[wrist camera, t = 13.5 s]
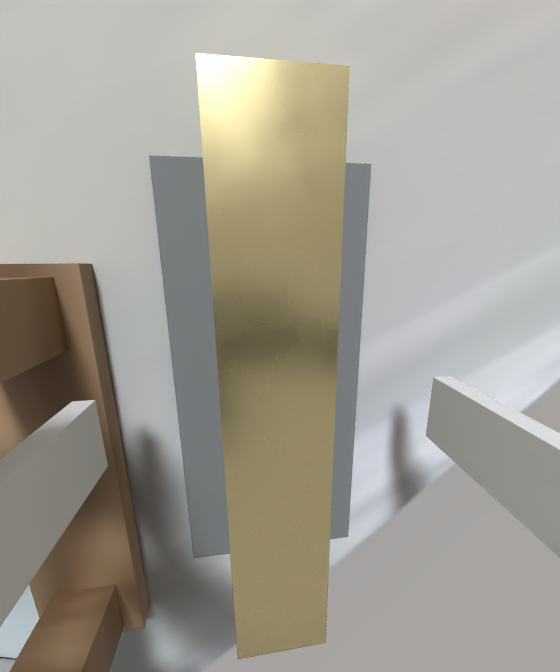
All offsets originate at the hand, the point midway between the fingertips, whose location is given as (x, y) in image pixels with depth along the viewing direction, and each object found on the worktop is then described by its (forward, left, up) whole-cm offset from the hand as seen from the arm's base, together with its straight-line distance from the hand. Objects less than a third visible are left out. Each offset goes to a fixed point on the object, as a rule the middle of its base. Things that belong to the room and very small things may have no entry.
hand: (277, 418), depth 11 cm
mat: (0, 0, -3) cm, 3 cm away
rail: (0, 0, -3) cm, 3 cm away
